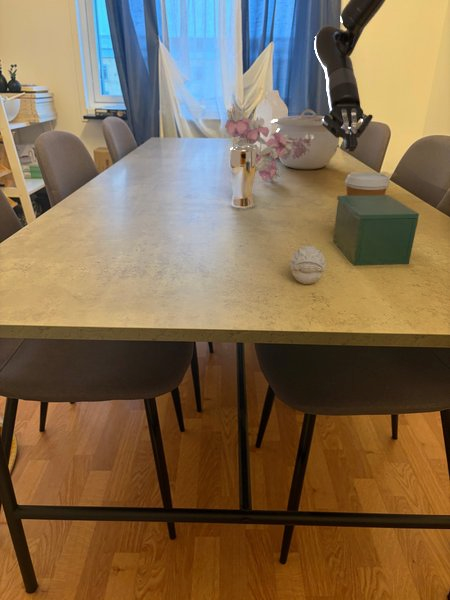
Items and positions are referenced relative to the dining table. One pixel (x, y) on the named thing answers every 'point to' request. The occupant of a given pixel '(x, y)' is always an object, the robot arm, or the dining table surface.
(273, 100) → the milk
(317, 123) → the chamber pot
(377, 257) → the green box
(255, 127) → the flower
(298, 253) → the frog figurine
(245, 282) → the dining table surface
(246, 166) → the beer glass
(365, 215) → the bread bin lid
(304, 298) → the dining table surface
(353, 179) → the disposable coffee cup
